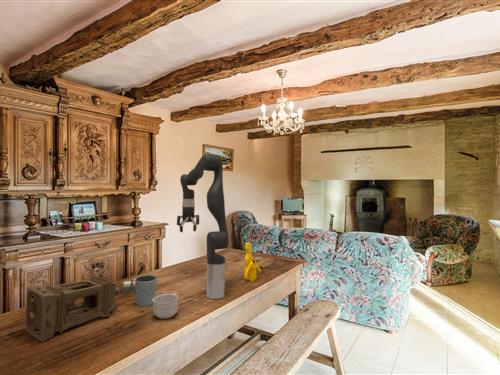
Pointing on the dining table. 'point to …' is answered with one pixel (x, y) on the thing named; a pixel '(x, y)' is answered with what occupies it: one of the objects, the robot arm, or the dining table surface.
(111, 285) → the brown lantern
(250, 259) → the figure statuette
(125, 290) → the key console
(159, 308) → the teacup
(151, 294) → the grey-green tumbler
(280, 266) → the dining table surface
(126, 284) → the sage key
